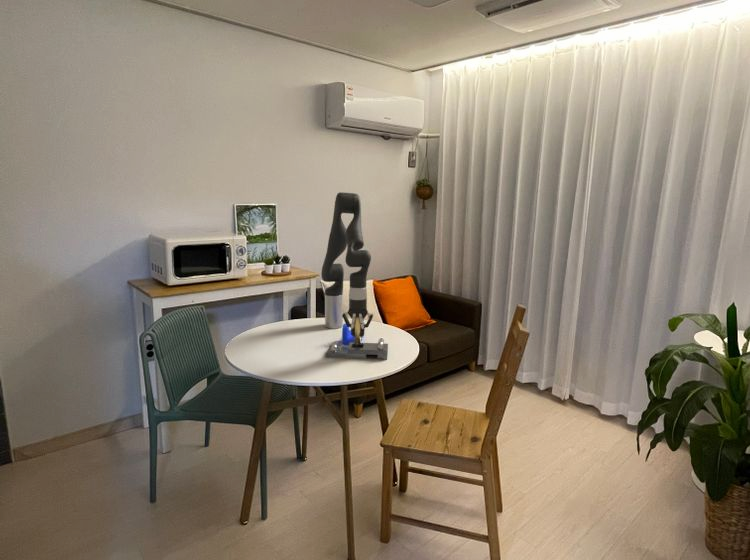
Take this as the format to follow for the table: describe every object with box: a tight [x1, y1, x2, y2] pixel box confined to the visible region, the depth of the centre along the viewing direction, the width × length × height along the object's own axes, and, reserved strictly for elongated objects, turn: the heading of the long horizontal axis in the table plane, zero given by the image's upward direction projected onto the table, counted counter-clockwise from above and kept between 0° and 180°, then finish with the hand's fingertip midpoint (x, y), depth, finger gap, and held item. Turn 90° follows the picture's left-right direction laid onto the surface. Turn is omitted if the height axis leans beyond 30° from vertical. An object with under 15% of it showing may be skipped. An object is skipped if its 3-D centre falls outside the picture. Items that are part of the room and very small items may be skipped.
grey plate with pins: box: [325, 338, 389, 360], centre depth 191 cm, size 9×26×6 cm, turn 86°
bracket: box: [341, 323, 364, 346], centre depth 212 cm, size 18×8×9 cm, turn 175°
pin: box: [354, 317, 362, 344], centre depth 189 cm, size 3×3×12 cm
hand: (357, 336), depth 190 cm, fingers closed on pin, 3 cm apart
